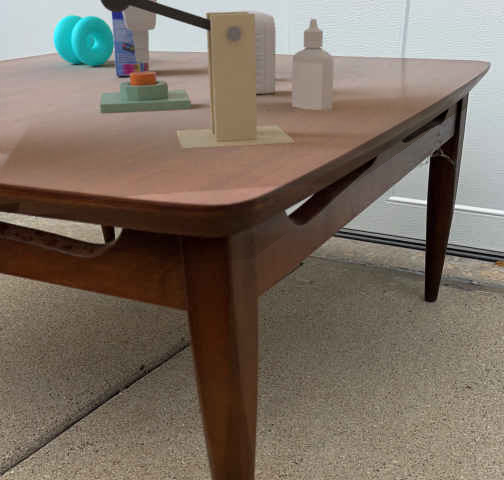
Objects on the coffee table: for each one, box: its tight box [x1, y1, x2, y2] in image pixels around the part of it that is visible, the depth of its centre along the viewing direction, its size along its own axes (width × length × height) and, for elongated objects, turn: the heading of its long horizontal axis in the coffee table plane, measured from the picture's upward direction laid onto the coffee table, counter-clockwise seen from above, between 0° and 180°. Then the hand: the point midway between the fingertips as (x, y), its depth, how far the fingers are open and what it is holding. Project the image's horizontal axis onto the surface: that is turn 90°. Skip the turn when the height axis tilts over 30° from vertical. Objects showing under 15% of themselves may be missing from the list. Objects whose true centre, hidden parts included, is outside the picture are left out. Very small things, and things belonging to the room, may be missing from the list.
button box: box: [99, 79, 192, 114], centre depth 96 cm, size 12×10×4 cm
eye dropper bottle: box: [291, 18, 334, 111], centre depth 90 cm, size 4×6×12 cm
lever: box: [100, 0, 211, 31], centre depth 70 cm, size 15×3×3 cm, turn 100°
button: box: [129, 70, 157, 85], centre depth 95 cm, size 4×4×2 cm
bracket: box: [176, 11, 296, 150], centre depth 74 cm, size 12×9×14 cm
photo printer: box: [231, 10, 277, 95], centre depth 107 cm, size 10×4×12 cm, turn 105°
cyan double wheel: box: [53, 14, 114, 67], centre depth 149 cm, size 10×10×10 cm
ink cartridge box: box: [111, 11, 150, 78], centre depth 132 cm, size 10×6×14 cm, turn 1°
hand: (142, 61), depth 94 cm, fingers closed
